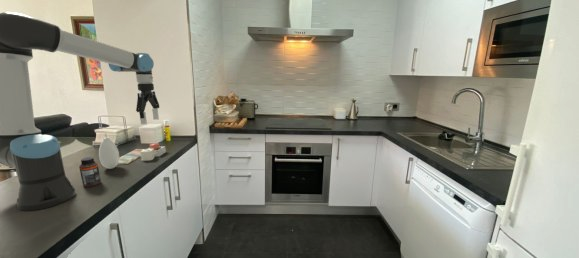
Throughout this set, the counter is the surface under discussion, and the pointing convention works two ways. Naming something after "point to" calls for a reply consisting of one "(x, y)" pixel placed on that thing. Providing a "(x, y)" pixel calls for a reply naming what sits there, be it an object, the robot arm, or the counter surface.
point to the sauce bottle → (108, 153)
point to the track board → (130, 157)
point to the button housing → (159, 151)
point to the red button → (154, 146)
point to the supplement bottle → (89, 172)
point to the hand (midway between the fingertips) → (150, 121)
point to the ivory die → (147, 154)
